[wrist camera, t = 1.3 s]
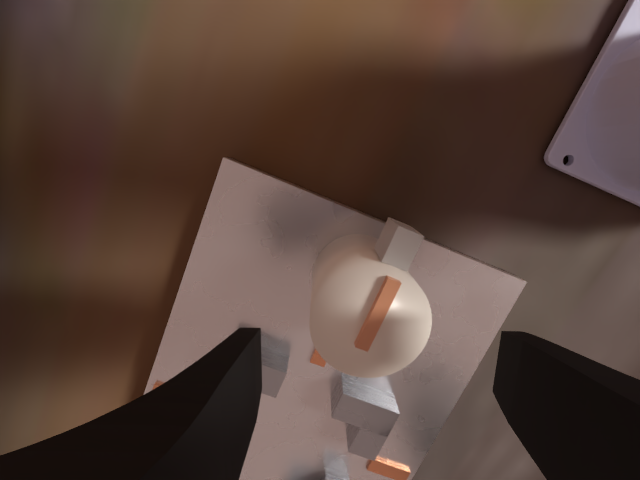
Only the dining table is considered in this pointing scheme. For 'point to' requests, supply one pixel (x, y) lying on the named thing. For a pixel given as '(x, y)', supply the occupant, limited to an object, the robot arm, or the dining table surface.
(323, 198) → the hub plate
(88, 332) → the dining table surface
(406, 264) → the knob
